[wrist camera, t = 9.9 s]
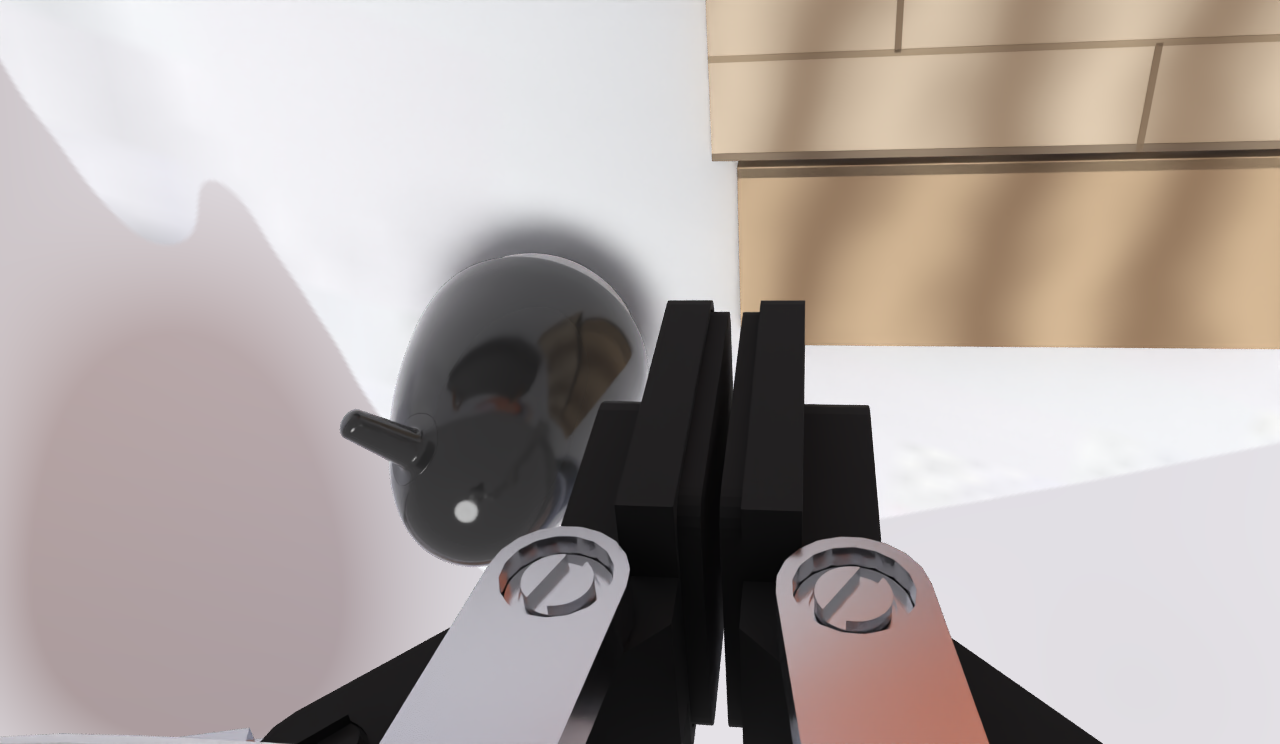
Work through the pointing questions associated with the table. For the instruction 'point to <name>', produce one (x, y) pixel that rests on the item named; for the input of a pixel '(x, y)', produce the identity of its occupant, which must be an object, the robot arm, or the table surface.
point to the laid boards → (990, 77)
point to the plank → (1019, 248)
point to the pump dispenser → (501, 401)
